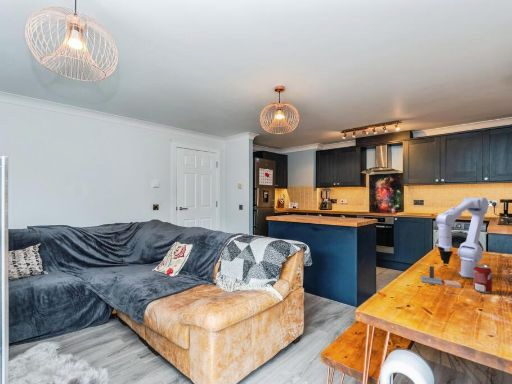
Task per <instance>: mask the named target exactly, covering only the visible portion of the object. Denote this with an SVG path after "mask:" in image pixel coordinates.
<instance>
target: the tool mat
mask: <svg viewBox="0 0 512 384" xmlns="http://www.w3.org/2000/svg"><path fill="white" fill-rule="evenodd" d="M419 278H420V280H421V283H422V284H423V283H424V284H429V285H430V284H431V285H438V286H443V282H442V281H441V282H438V281H430V280H423V275H422V276H421V275H420V277H419Z"/></svg>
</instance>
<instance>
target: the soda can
mask: <svg viewBox="0 0 512 384" xmlns="http://www.w3.org/2000/svg"><path fill="white" fill-rule="evenodd" d="M472 279H473V287H472V288H473V290H475V291H476V292H477V293H481V294H489V293H492V292H493V271H492V269H491V266H489V265H486V264H478V265H475V267H474V276H473V278H472Z"/></svg>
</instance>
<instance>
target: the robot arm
mask: <svg viewBox="0 0 512 384" xmlns="http://www.w3.org/2000/svg"><path fill="white" fill-rule="evenodd" d="M489 205H490V203H489V200H488V199H487V197H469V196H466V197H465V198H463V199H462V202H461V203H460V204H458V205H457V206H451V207H450V208H449V209H448V210H447V211H444V212H443V213H440V214H438V215H437V216H436V217H435V223H436V225H437V226H436V227H437V228H438V242H437V243H435V246H436V247H437V249H438V252H439V254H440V260H441V261H442V263H443V265H449V264H450V260H451V258H452V257H451V256H452V255H453V253H454V251H453V250H451V248H452V247H453V245H452V241H453V240H452V236H453V235H452V229H453V228H452V226H453V225H454V224H455V222H456V220H457V219H459V217H460V218H461V216H463V215H462V214H463V213H464V212H465V211H467V212H469V213H470V214H471V221H470V224H469V227H468V232H467V236H466V240H465V241H464V242H462V243H460V245H459V248H458V249H457V255H458V257H459V259H460V260H461V262H460V271H458V273H459V274H460V276H461V277H462V278H463V277H464V278H471V279H473V276H474V267H475V265H479V262H480V261H481V260H482V258H483V247H481V246H480V245H479V240H480V236H481V232H482V227H483V223H484V219H485V215H486V214H487V213H488V209H489Z"/></svg>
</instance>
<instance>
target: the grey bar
mask: <svg viewBox="0 0 512 384" xmlns="http://www.w3.org/2000/svg"><path fill="white" fill-rule="evenodd" d="M422 277H423V280H430V281H438V282H442V278H441V277H435V267H434V266H433V265H429V276H428V275H422Z"/></svg>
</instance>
